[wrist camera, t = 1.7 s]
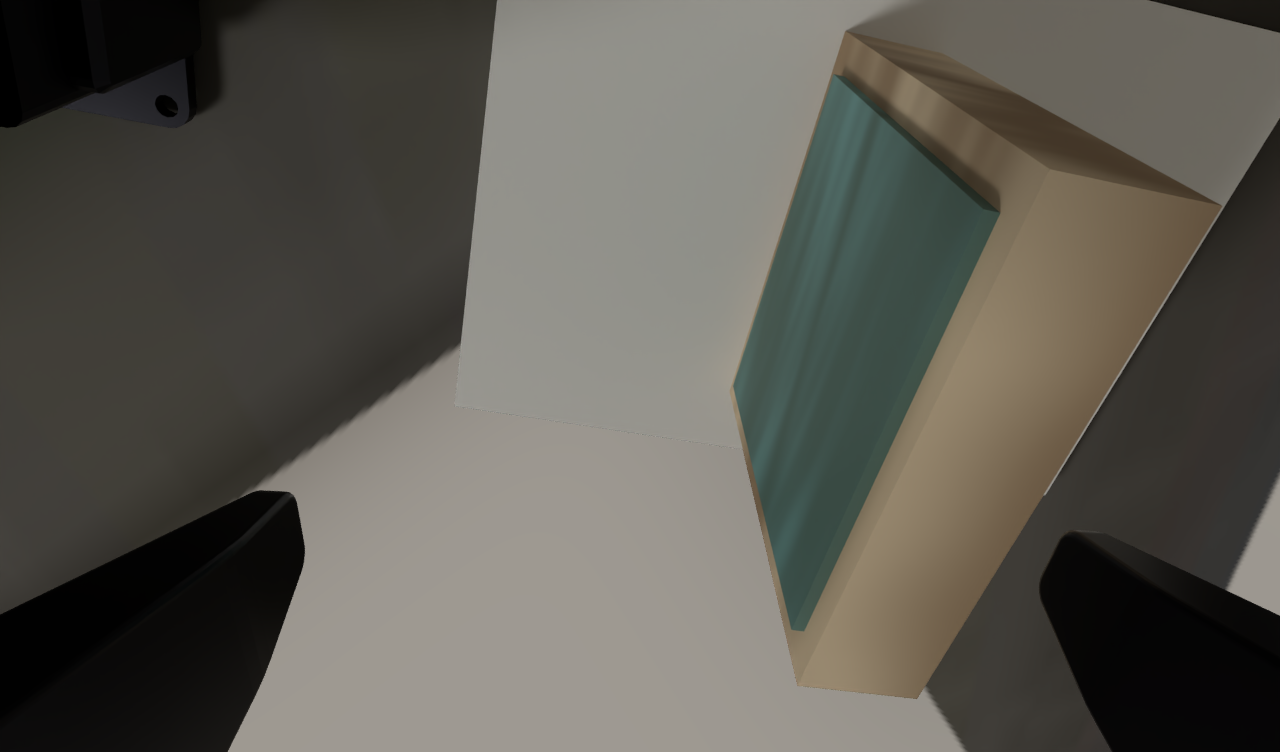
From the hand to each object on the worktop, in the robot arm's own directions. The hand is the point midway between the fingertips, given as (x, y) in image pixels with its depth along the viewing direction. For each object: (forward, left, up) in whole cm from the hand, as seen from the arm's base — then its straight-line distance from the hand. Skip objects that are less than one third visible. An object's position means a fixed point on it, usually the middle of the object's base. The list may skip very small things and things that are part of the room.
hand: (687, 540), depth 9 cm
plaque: (+5, -1, -13) cm, 13 cm away
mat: (+5, -1, -13) cm, 14 cm away
